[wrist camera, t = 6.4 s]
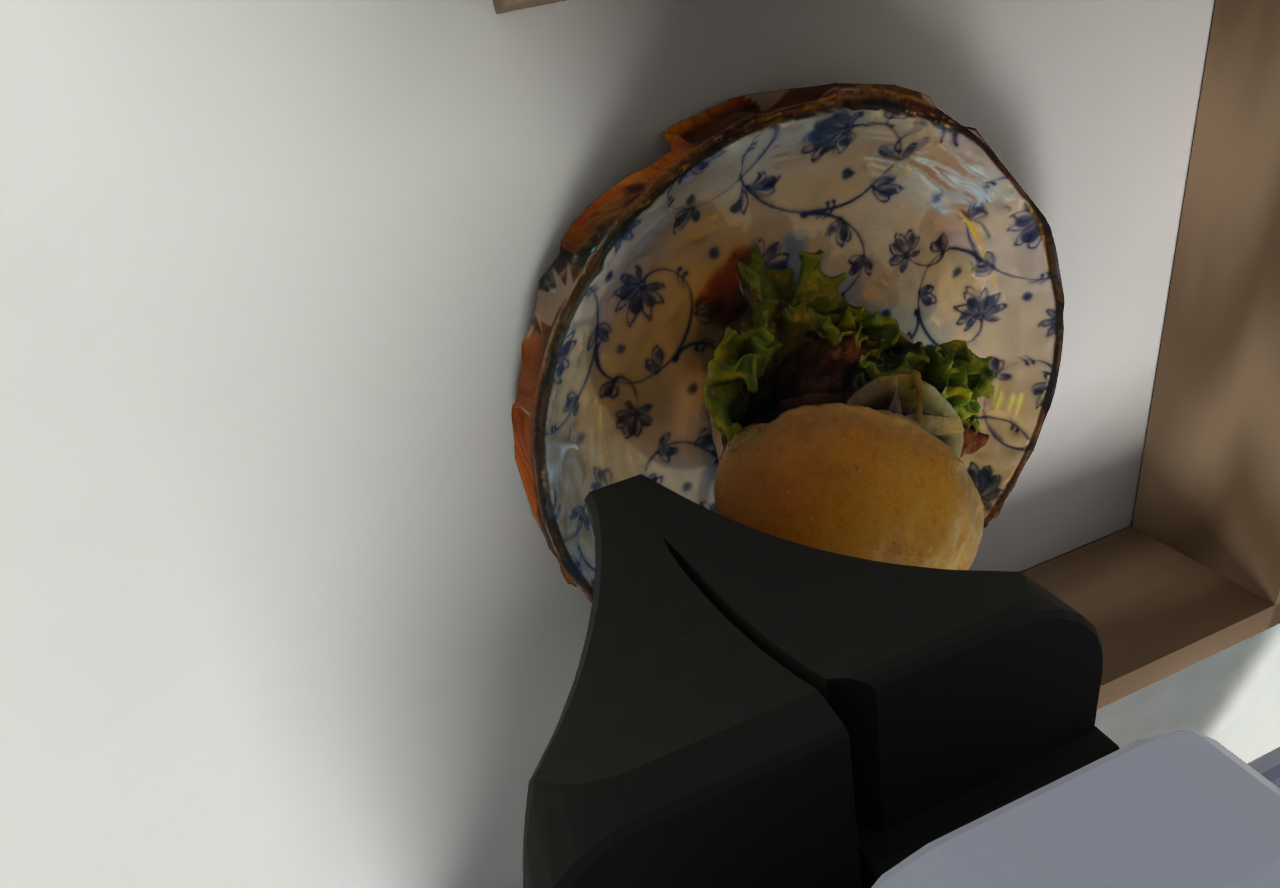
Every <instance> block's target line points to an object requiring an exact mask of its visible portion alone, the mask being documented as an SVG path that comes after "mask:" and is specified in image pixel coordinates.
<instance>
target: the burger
mask: <svg viewBox="0 0 1280 888" xmlns="http://www.w3.org/2000/svg"><path fill="white" fill-rule="evenodd" d="M662 134H663V136H664V138H665V139H666V141H667V143H668V144H670V147H669V148H671V149H672V151H670V152H669V153H668V154H666V155H665V156H663V157H662V158H660V159H659V160H657V161H656V162H655V163H653V164H652V165H650V166H649V167H647V168H645V169H643V170H640V171H637V172H635V173H633V174H631V175H630V176H628V177H627V178H625V179H624V180H622V181H621V182H619V183H618V184H616V185H615V186H613V187H612V188H611V189H610V190H608V191H607V192H605V193H604V194H603V195H602V196H600V197H599V198H598V199H597V200H596V201H595V202H594V203H592V204H591V205H590V206H589V207H588V208H587V209H586V210H585V211H584V212H583V213H582V214H581V216H579V217H578V218H577V219H576V220H575V221H574V222H573V224H572V225H571V227H570V228H569V230H568V232H567V233H566V235H565V236H564V238H563V240H562V242H561V246H560V253H559V255H558V257H557V258H556V260H555V261H554V263H553V264H552V265H551V267H550V268H549V269H548V270H547V272H546V273H545V274H544V275H543V276H542V278H541V280H540V283H539V289H538V290H539V291H538V297H537V305H536V312H535V314H534V317H533V319H532V322H531V326H530V329H529V331H528V334H527V336H526V337H525V339H524V341H523V343H522V370H521V375H520V379H519V386H518V394H517V400H516V402H515V403H514V404H513V406H512V424H513V431H514V441H515V459H516V463H517V466H518V469H519V472H520V475H521V478H522V482H523V485H524V488H525V491H526V494H527V497H528V500H529V503H530V506H531V509H532V513H533V516H534V517H535V519H536V520H537V522H538V524H539V526H540V528H541V530H542V532H543V534H544V536H545V538H546V541H547V544H548V546H549V548H550V550H551V551H552V552H553V554H554V555H555V557H556V558H557V560H558V562H559V564H560V569H561V572H562V574H563V576H564V578H565V580H566V581H567V583H568V584H573V585H574V586H575V587H578V588H579V589H580V590H581V591H582V592H583V593H584V594H585V596H586V597H587V598H588V600H589V601H590V602H591V603H592V600H593V591H594V576H595V537H594V533H593V530H592V526H591V522H590V519H589V515H588V512H587V508H586V504H585V501H584V499H585V498H586V496H587V495H588V493H589V492H590V491H593V490H596V489H599V488H602V487H605V486H608V485H610V484H613V483H616V482H619V481H622V480H625V479H628V478H631V477H634V476H637V475H640V474H642V475H644V476H646V477H648V478H650V479H652V480H653V481H655V482H657V483H659V484H661V485H663V486H665V487H666V488H668V489H670V490H672V491H674V492H676V493H678V494H679V495H681V496H683V497H685V498H687V499H689V500H691V501H693V502H695V503H697V504H699V505H701V506H703V507H705V508H707V509H709V510H711V511H713V512H715V513H717V514H720V515H722V516H724V517H726V518H729V519H731V520H733V521H736V522H738V523H741V524H743V525H746V526H748V527H751V528H754V529H756V530H759V531H761V532H764V533H767V534H770V535H773V536H776V537H778V538H782V539H785V540H788V541H792V542H795V543H799V544H802V545H805V546H809V547H812V548H816V549H820V550H824V551H828V552H833V553H837V554H842V555H847V556H852V557H857V558H862V559H868V560H873V561H879V562H886V563H893V564H900V565H909V566H918V567H927V568H936V569H948V570H969V568H970V566H971V565H972V563H973V562H974V560H975V557H976V555H977V553H978V548H979V544H980V542H981V539H982V537H983V529H984V528H985V527H986V526H987V525H988V523H989V521H991V520H992V519H993V518H996V517H997V516H998V515H999V513H1000V511H1001V508H1002V506H1003V504H1004V501H1005V499H1006V498H1007V497H1008V495H1009V493H1010V492H1011V491H1012V489H1013V487H1014V486H1015V483H1016V481H1017V479H1018V477H1019V475H1020V473H1021V471H1022V469H1023V467H1024V465H1025V463H1026V461H1027V460H1028V458H1029V457H1030V455H1031V454H1032V452H1033V450H1034V448H1035V445H1036V442H1037V439H1038V436H1039V433H1040V431H1041V428H1042V425H1043V422H1044V420H1045V417H1046V415H1047V412H1048V410H1049V408H1050V406H1051V402H1052V399H1053V396H1054V392H1055V388H1056V383H1057V377H1058V372H1059V367H1060V361H1061V353H1062V345H1063V331H1064V326H1063V309H1064V294H1063V288H1062V282H1061V275H1060V270H1059V264H1058V258H1057V253H1056V247H1055V243H1054V239H1053V236H1052V232H1051V228H1050V226H1049V224H1048V222H1047V220H1046V218H1045V217H1044V215H1043V214H1042V213H1041V212H1040V210H1039V209H1038V208H1037V207H1036V205H1035V204H1034V203H1033V201H1032V200H1031V199H1030V198H1029V196H1028V195H1027V194H1026V193H1025V191H1024V190H1023V189H1022V188H1021V186H1020V185H1019V184H1018V183H1017V182H1016V180H1015V179H1014V178H1013V177H1012V175H1011V174H1010V173H1009V172H1008V170H1007V169H1006V168H1005V167H1004V165H1003V164H1002V163H1001V161H1000V160H999V159H998V157H997V156H996V155H995V154H994V152H993V151H992V150H991V148H990V147H989V146H988V144H987V143H986V142H985V141H984V139H983V138H982V137H981V135H980V134H979V133H978V131H977V130H976V129H974V128H971V127H965V126H962V125H960V124H959V123H957V122H956V121H954V120H953V119H952V118H950V117H949V116H947V115H946V114H945V113H943V112H942V111H940V110H939V109H937V108H936V107H935V106H934V104H933V102H932V100H931V98H930V97H929V96H928V95H925V94H922V93H920V92H917V91H913V90H910V89H906V88H903V87H900V86H896V85H886V84H846V83H833V84H827V85H820V86H813V87H805V88H795V89H785V90H778V91H769V92H761V93H755V94H750V95H745V96H740V97H737V98H733V99H729V100H728V101H726V103H724V104H722V105H720V106H717V107H714V108H710V109H708V110H706V111H705V112H704V113H702V114H699V115H696V116H693V117H691V118H689V119H687V120H685V121H682V122H680V123H678V124H676V125H674V126H673V127H671V128H669V129H668V130H666V131H665V132H664V133H662Z"/></svg>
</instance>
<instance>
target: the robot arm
mask: <svg viewBox="0 0 1280 888" xmlns="http://www.w3.org/2000/svg"><path fill="white" fill-rule="evenodd" d="M584 501H585V504H586V508H587V512H588V515H589V519H590V522H591V526H592V530H593V533H594V537H595V576H594V591H593V600H592V608H591V614H590V620H589V625H588V631H587V635H586V640H585V644H584V648H583V652H582V655H581V659H580V663H579V667H578V670H577V673H576V677H575V680H574V683H573V685H572V688H571V691H570V693H569V696H568V699H567V701H566V704H565V706H564V709H563V712H562V714H561V717H560V720H559V722H558V725H557V727H556V729H555V731H554V734H553V736H552V738H551V740H550V742H549V744H548V746H547V748H546V750H545V752H544V754H543V756H542V758H541V760H540V762H539V764H538V766H537V767H536V769H535V771H534V773H533V775H532V777H531V779H530V781H529V786H528V795H527V805H526V814H525V826H524V841H523V884H524V888H1280V747H1279V748H1277V749H1275V750H1273V751H1271V752H1269V753H1267V754H1265V755H1263V756H1261V757H1259V758H1257V759H1255V760H1254V761H1252V762H1250V763H1248V764H1246V763H1245V762H1244V761H1242V760H1241V759H1240V758H1238V757H1237V756H1236V755H1234V754H1233V753H1232V752H1230V751H1229V750H1228V749H1226V748H1225V747H1224V746H1222V745H1221V744H1220V743H1218V742H1217V741H1216V740H1214V739H1211V738H1209V737H1207V736H1205V735H1203V734H1201V733H1199V732H1197V731H1194V730H1192V729H1182V730H1172V731H1169V732H1165V733H1161V734H1158V735H1154V736H1151V737H1147V738H1144V739H1140V740H1137V741H1135V742H1133V743H1131V744H1129V745H1127V746H1125V747H1123V748H1121V749H1119V747H1118V745H1116V744H1115V743H1114V742H1113V741H1112V740H1111V739H1109V738H1108V737H1107V736H1106V735H1105V734H1104V733H1102V732H1101V731H1100V730H1099V729H1098V728H1097V727H1095V726H1094V725H1095V718H1096V711H1097V705H1098V698H1099V692H1100V685H1101V679H1102V672H1103V649H1102V643H1101V640H1100V637H1099V635H1098V632H1097V630H1096V627H1095V626H1094V625H1093V624H1091V623H1090V622H1089V621H1088V620H1087V619H1086V618H1085V617H1084V616H1083V615H1081V614H1080V613H1079V612H1077V611H1076V610H1074V609H1073V608H1072V607H1070V606H1069V605H1068V604H1066V603H1065V602H1063V601H1062V600H1061V599H1059V598H1058V597H1056V596H1055V595H1054V594H1052V593H1051V592H1049V591H1048V590H1047V589H1045V588H1044V587H1042V586H1041V585H1039V584H1038V583H1036V582H1035V581H1034V580H1032V579H1030V578H1029V577H1027V576H1026V575H1024V574H1022V573H1021V572H999V571H973V570H948V569H936V568H927V567H918V566H909V565H900V564H893V563H886V562H879V561H873V560H868V559H862V558H857V557H852V556H847V555H842V554H837V553H833V552H828V551H824V550H820V549H816V548H812V547H809V546H805V545H802V544H799V543H795V542H792V541H788V540H785V539H782V538H778V537H776V536H773V535H770V534H767V533H764V532H761V531H759V530H756V529H754V528H751V527H748V526H746V525H743V524H741V523H738V522H736V521H733V520H731V519H729V518H726V517H724V516H722V515H720V514H717V513H715V512H713V511H711V510H709V509H707V508H705V507H703V506H701V505H699V504H697V503H695V502H693V501H691V500H689V499H687V498H685V497H683V496H681V495H679V494H678V493H676V492H674V491H672V490H670V489H668V488H666V487H665V486H663V485H661V484H659V483H657V482H655V481H653V480H652V479H650V478H648V477H646V476H644V475H642V474H640V475H637V476H634V477H631V478H628V479H625V480H622V481H619V482H616V483H613V484H610V485H608V486H605V487H602V488H599V489H596V490H593V491H590V492H589V493H588V495H587V496H586V498H585V499H584Z"/></svg>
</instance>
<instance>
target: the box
mask: <svg viewBox="0 0 1280 888" xmlns="http://www.w3.org/2000/svg"><path fill="white" fill-rule="evenodd" d="M559 1H564V0H493V3H494V7H495V11H496V14H499V13H504V12H509V11H514V10H519V9H524V8H529V7H534V6H539V5H544V4H549V3H554V2H559ZM1021 573H1022V574H1024V575H1026V576H1027V577H1029V578H1030V579H1032V580H1034V581H1035V582H1036V583H1038V584H1039V585H1041V586H1042V587H1044V588H1045V589H1047V590H1048V591H1049V592H1051V593H1052V594H1054V595H1055V596H1056V597H1058V598H1059V599H1061V600H1062V601H1063V602H1065V603H1066V604H1068V605H1069V606H1070V607H1072V608H1073V609H1074V610H1076V611H1077V612H1079V613H1080V614H1081V615H1083V616H1084V617H1085V618H1086V619H1087V620H1088V621H1089V622H1090V623H1091V624H1093V625H1094V626H1095V627H1096V630H1097V632H1098V635H1099V637H1100V640H1101V643H1102V649H1103V672H1102V679H1101V685H1100V692H1099V698H1098V705H1097V709H1099V708H1102V707H1104V706H1106V705H1108V704H1110V703H1112V702H1114V701H1116V700H1118V699H1121V698H1123V697H1125V696H1127V695H1129V694H1131V693H1133V692H1135V691H1137V690H1140V689H1142V688H1144V687H1146V686H1148V685H1150V684H1152V683H1154V682H1156V681H1159V680H1161V679H1163V678H1165V677H1167V676H1169V675H1171V674H1173V673H1175V672H1178V671H1180V670H1182V669H1184V668H1186V667H1188V666H1190V665H1192V664H1194V663H1197V662H1199V661H1201V660H1203V659H1205V658H1207V657H1209V656H1211V655H1213V654H1216V653H1218V652H1220V651H1222V650H1224V649H1226V648H1228V647H1230V646H1232V645H1235V644H1237V643H1239V642H1241V641H1243V640H1245V639H1247V638H1249V637H1251V636H1254V635H1256V634H1258V633H1260V632H1262V631H1264V630H1266V629H1268V628H1270V627H1273V626H1275V625H1277V624H1279V623H1280V0H1216V2H1215V8H1214V14H1213V21H1212V27H1211V33H1210V40H1209V46H1208V52H1207V58H1206V65H1205V71H1204V77H1203V83H1202V90H1201V96H1200V102H1199V109H1198V115H1197V121H1196V127H1195V134H1194V140H1193V146H1192V152H1191V159H1190V165H1189V171H1188V178H1187V184H1186V190H1185V196H1184V203H1183V209H1182V215H1181V222H1180V228H1179V234H1178V240H1177V247H1176V253H1175V259H1174V265H1173V272H1172V278H1171V284H1170V291H1169V297H1168V303H1167V309H1166V316H1165V322H1164V328H1163V335H1162V341H1161V347H1160V353H1159V360H1158V366H1157V372H1156V378H1155V385H1154V391H1153V397H1152V404H1151V410H1150V416H1149V422H1148V429H1147V435H1146V441H1145V448H1144V454H1143V460H1142V466H1141V473H1140V479H1139V485H1138V491H1137V498H1136V504H1135V510H1134V517H1133V523H1132V526H1131V527H1129V528H1126V529H1124V530H1122V531H1119V532H1117V533H1114V534H1112V535H1110V536H1107V537H1105V538H1102V539H1100V540H1098V541H1095V542H1093V543H1091V544H1088V545H1086V546H1083V547H1081V548H1079V549H1076V550H1074V551H1071V552H1069V553H1067V554H1064V555H1062V556H1059V557H1057V558H1055V559H1052V560H1050V561H1047V562H1045V563H1043V564H1040V565H1038V566H1035V567H1033V568H1031V569H1028V570H1026V571H1023V572H1021Z"/></svg>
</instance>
